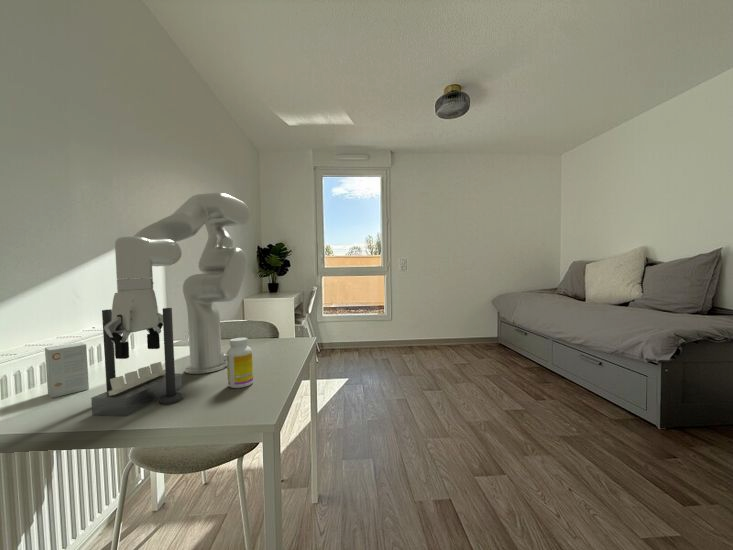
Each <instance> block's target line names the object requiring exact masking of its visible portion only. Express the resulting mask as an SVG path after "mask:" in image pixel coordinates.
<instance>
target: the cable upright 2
mask: <svg viewBox="0 0 733 550" xmlns="http://www.w3.org/2000/svg"><path fill="white" fill-rule="evenodd" d="M162 315H163V326H162V328H163V346H164V347H163V348H164V349H163V350H164V366H165V367H164V370H165V373H166V394H165V395H163V396H161V397H160V399H159V404H160V405H164V406H165V405H173V404H177V403H179V402H182V401H183V399H184V398H183V392H180V391H176V388H175V374H176V370H175V350H174V349H175V347H174V326H173V308H172V307H164V308H162Z"/></svg>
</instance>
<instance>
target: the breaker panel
mask: <svg viewBox="0 0 733 550" xmlns="http://www.w3.org/2000/svg"><path fill="white" fill-rule="evenodd" d="M138 378H139V379H140V377H138ZM126 384H127V383H125V385H126ZM175 388H176V392H178V390H180V389H182V388H183V383H182V373H175ZM109 391H111V390H109ZM109 391H107V390H106V391H104V392H102V393H100V394H99V393H98V394H97V395H95V396H93V397H91V398H90V399H91V400H90V401H91V413H92V414H91V415H92V416H108V415H116V416H115V417H128V416H129V415H132V414H133V413H136V412H137V411H139V410H142V409H143V408H145V407H147V406H149V405H151V404H154V403H155V402H157V401H160V397H161V396H163V395H165V394H166V373H165V374H163V375H160V376H158V377H156V378H153V379H151V380H148V381H146V382H144V383H141V384H139V385H137V386H134V387H132V388H129V389H127V390H125V391H122V392H120V393H118V394H115V395H111V396H109Z"/></svg>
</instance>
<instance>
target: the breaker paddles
mask: <svg viewBox="0 0 733 550" xmlns="http://www.w3.org/2000/svg"><path fill="white" fill-rule="evenodd" d="M163 374H165V369H163V366H162V361H158V362H155V363H151V364H149V365H148V366H143V367H140V368H138V369H137V370H134V371H129V372H126V373H124V375H120V376H116V377H115V378H112V379H110V382H111V386H112V390H111V391H109V396H111V395H115V394H118V393H120V392H122V391H125V390H127V389H129V388H132V387H134V386H137V385H139V384H141V383H144V382H146V381H148V380H151V379H153V378H156V377H158V376H160V375H163ZM124 378H125V380H124ZM139 378H140V379H139ZM125 382H126V383H125ZM125 384H126V385H125Z"/></svg>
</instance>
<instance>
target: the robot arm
mask: <svg viewBox="0 0 733 550" xmlns="http://www.w3.org/2000/svg"><path fill="white" fill-rule="evenodd" d="M250 219H251V211H250V208H249V207H248V205H247V204H246V203H245V202H244V201H242V200H240V199H238V198H236V197H234V196H232V195H230V194H228V193H225V192H224V193H223V192H207V193H206V192H205V193H198V194H194V195H192V196H191V197H189V198H188V199H187V200H186V201H185V202H183V203H182V205H181V206H179V207H178V208H177V209H176V210H175V211H174V212H173V213H172V214H170V215H168V216H166V217H163V218H162V219H159V220H157V221H156V222H152V223H151V224H149V225H147V226H145V227H144V228H142V229H140V230H139V231H138V232H136V233H135V234H134V235H133V236H120V237H118V238H117V239H116V240H115V242H114V252H115V253H114V255H115V270H116V273H115V275H116V290H117V291H116V292H114V294H113V298H112V304H111V305H112V306H111V309H112V321H111V322H109V323H108V324H107V325H105V326H104V329H105V331H106V333H107V334H108V337H109V338H110V339H111V340H112V342H113V343H114V357H115V360H120V359H121V360H125V359H126V360H127V359H129V358H130V347H129V345H130V344H129V341H127V339H128V338H129V336H130V334H131V333H136V332H141V331H145V330H146V331H147V332H148V334H146V343H147V349H149V350H158V349H159V350H160V348H161V341H160V334H161V333H162V328H163V313H159V306H158V301H157V296H156V292H155V290H154V278H153V276H154V275H153V267H168V266H172V265H174V264H177V262H179V260H181V258H182V249H181V246H180V244H179V243H178V242H180V241H183V240H187V239H190V238H191V237H194V236H195V235H197V233H198V232H199V231H200V230H201V228H202V227H203V226H205V229H206V231H207V235H208V237H207V241H206V243H205V246H204V247H203V250H202V253H201V255H200V257H199V260H198V269H199V271H200V272H201V273H196V274H191V275H190V276H188V277H187V278H186V279H185V280H184V282H183V284H182V293H183V297H184V300H185V303H186V310H187V323H188V325H187V326H188V344H189V345H188V346H189V360H190V361H189V365H187V366H185V368H184V372H185V373H186V374H192V375H199V374H200V375H201V374H202V375H203V374H209V373H212V372H213V373H214V372H216V371H217V372H218V371H221V370H223V369H225V368H226V367H227V353H224V352H223V351H222V336H221V334H222V333H221V317H220V316H221V315H220V312H219V309H218V307H217V306H216V304H215V303H224V302H225V303H227V302H232V301H234V300H235V299H236V298H238V295H239V293H240V290H241V287H242V283H243V282H244V278H245V275H246V271H247V268H248V257H247V254H246V253H245V251H244V250H243V249H242V248H239V247H235V246H234V247H233V245H234V244H233V243H234V242H233V241H234V240H233V238H232V237H231V235H230V233H229V232H228V231H227V230H226V228H225V227H232V226H233V227H234V226H235V227H238V226H245V225H246V224H248V223H249V221H250Z"/></svg>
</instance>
